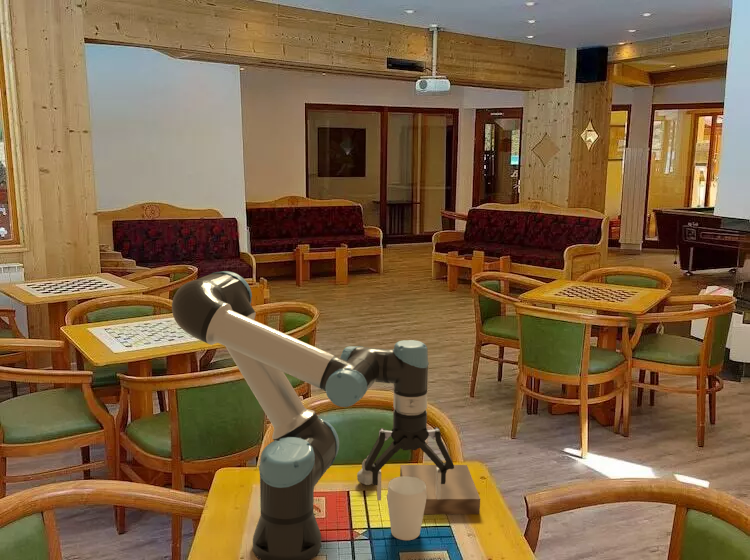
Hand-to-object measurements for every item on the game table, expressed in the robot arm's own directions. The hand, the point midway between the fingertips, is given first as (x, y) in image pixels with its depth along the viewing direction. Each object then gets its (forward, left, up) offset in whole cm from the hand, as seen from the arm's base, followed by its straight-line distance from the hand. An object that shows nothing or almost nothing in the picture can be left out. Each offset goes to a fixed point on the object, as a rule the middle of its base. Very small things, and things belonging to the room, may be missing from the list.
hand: (408, 497), depth 156 cm
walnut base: (+10, +17, -9) cm, 22 cm away
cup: (0, 0, -9) cm, 9 cm away
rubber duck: (-8, +23, -9) cm, 26 cm away
